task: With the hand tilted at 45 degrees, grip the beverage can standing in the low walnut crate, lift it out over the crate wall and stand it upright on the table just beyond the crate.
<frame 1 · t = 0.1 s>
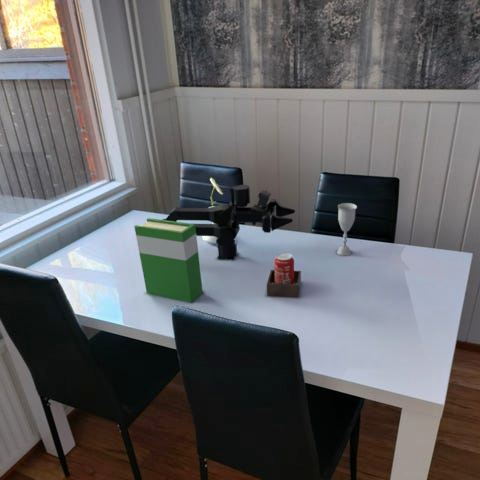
hand: (293, 215, 167), 17 cm above the table, tool horizontal, fingers open, 9 cm apart
crate: (284, 289, 155), on the table
chalice: (344, 253, 177), on the table
beverage can: (284, 289, 156), resting in crate
flower in vase: (216, 240, 195), on the table
hardback book: (174, 293, 158), on the table
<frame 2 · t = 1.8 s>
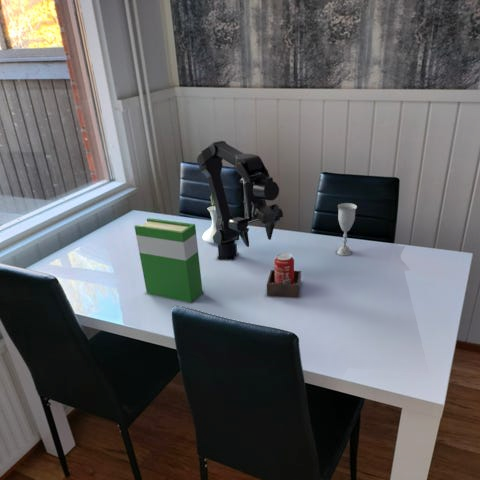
hand: (258, 243, 159), 12 cm above the table, tool pointing down, fingers open, 9 cm apart
nothing on the table moved.
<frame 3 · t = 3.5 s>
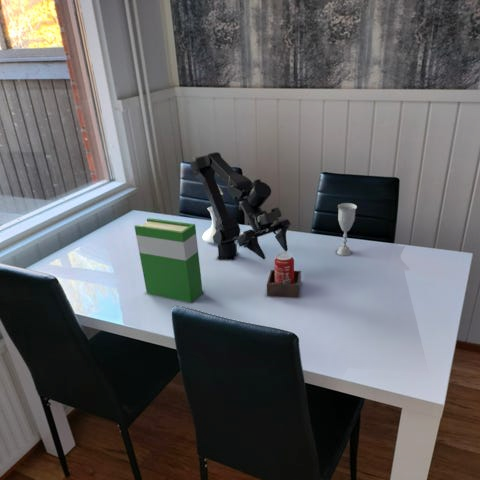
hand: (275, 254, 153), 11 cm above the table, tool tilted 45°, fingers open, 9 cm apart
nothing on the table moved.
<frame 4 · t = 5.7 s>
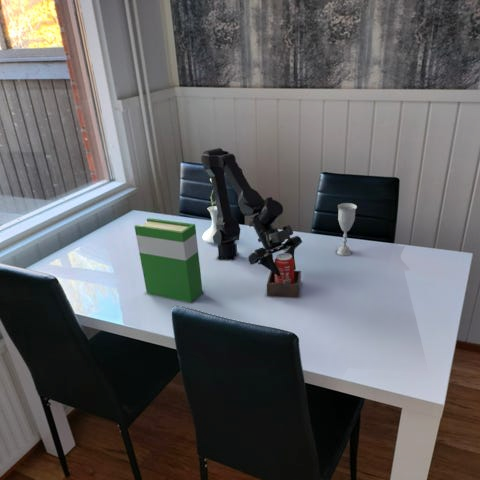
hand: (287, 272, 151), 7 cm above the table, tool tilted 45°, fingers closed on beverage can, 6 cm apart
beverage can: (284, 289, 156), resting in crate, touching gripper
everything else where it was.
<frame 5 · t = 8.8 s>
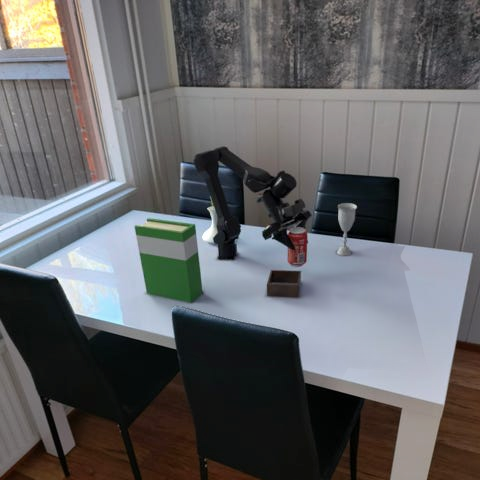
hand: (300, 246, 152), 13 cm above the table, tool tilted 45°, fingers closed on beverage can, 6 cm apart
beverage can: (296, 264, 156), point 6 cm above the table, touching gripper
everything else where it was.
when the fingers open (7 cm above the table, at t = 12.1 s): beverage can stays where it is, on the table.
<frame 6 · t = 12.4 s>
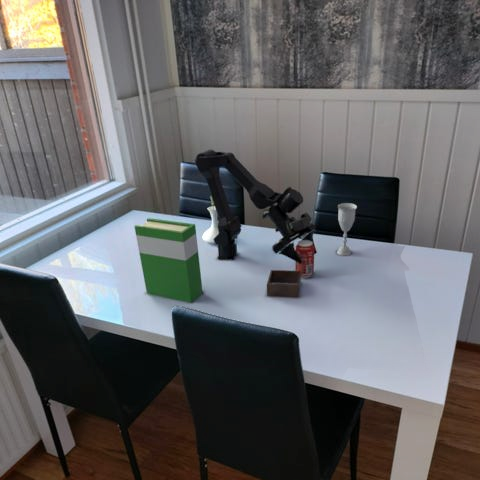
hand: (308, 258, 159), 7 cm above the table, tool tilted 45°, fingers open, 9 cm apart
beverage can: (304, 275, 164), on the table
everything else where it was.
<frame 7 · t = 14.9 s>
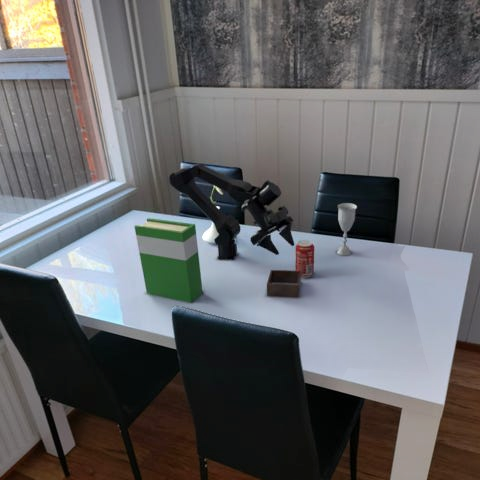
hand: (285, 249, 164), 8 cm above the table, tool tilted 45°, fingers open, 9 cm apart
nothing on the table moved.
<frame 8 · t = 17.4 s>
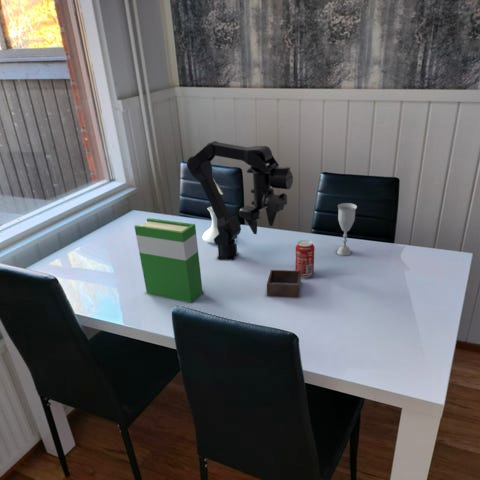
hand: (263, 229, 166), 13 cm above the table, tool pointing down, fingers open, 9 cm apart
nothing on the table moved.
at the end: beverage can inside the target area (1.0 cm from its centre), on the table; beverage can tilted 0°; the gripper is holding nothing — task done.
